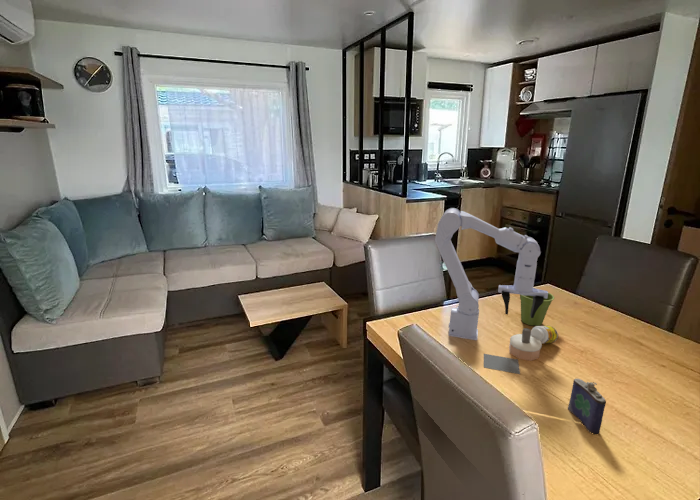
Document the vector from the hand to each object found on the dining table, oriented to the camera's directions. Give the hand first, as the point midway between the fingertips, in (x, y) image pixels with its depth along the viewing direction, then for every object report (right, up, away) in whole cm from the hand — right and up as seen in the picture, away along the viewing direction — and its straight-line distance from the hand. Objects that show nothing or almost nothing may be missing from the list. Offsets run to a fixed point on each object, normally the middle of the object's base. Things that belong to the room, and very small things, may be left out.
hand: (519, 314), depth 125 cm
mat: (-10, -13, -10) cm, 19 cm away
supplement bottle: (+12, -7, +3) cm, 14 cm away
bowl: (0, -12, -4) cm, 12 cm away
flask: (+1, -20, -33) cm, 39 cm away
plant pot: (+12, -6, +17) cm, 22 cm away
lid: (0, -8, -6) cm, 10 cm away
